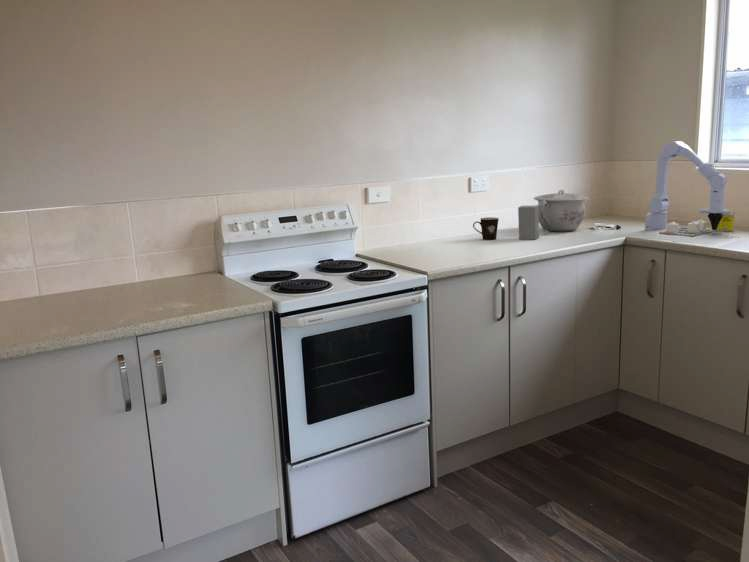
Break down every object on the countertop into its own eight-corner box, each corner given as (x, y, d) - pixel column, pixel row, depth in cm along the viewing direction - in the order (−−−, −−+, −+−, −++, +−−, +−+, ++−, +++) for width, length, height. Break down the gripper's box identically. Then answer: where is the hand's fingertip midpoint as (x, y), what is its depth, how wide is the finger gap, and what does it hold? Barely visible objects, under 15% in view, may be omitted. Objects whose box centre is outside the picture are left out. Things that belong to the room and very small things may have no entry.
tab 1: (666, 233, 311) (666, 222, 310) (670, 232, 314) (670, 221, 313) (674, 234, 308) (675, 222, 307) (678, 233, 311) (679, 222, 310)
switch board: (658, 236, 311) (659, 232, 311) (682, 231, 326) (683, 226, 326) (693, 240, 299) (693, 235, 299) (716, 233, 314) (716, 229, 314)
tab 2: (693, 231, 315) (694, 220, 314) (697, 230, 317) (698, 219, 316) (702, 231, 312) (703, 220, 311) (706, 230, 314) (707, 220, 313)
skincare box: (539, 238, 318) (539, 205, 315) (534, 240, 312) (535, 206, 309) (521, 237, 322) (522, 204, 319) (517, 239, 316) (517, 206, 313)
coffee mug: (499, 237, 322) (499, 217, 320) (496, 240, 314) (497, 219, 312) (475, 237, 326) (475, 217, 324) (472, 240, 318) (472, 219, 316)
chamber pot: (577, 225, 357) (578, 186, 352) (595, 232, 330) (597, 190, 325) (525, 227, 356) (526, 188, 352) (539, 234, 329) (540, 192, 325)
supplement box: (732, 233, 313) (734, 210, 311) (719, 234, 314) (721, 211, 311) (726, 232, 319) (728, 209, 317) (713, 232, 319) (715, 209, 317)
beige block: (687, 232, 311) (687, 221, 309) (691, 231, 313) (691, 220, 312) (695, 233, 308) (696, 222, 306) (699, 232, 310) (700, 221, 309)
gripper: (696, 200, 310) (694, 229, 312) (729, 202, 299) (726, 231, 302) (703, 199, 314) (701, 227, 317) (736, 200, 303) (733, 230, 306)
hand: (714, 229), depth 310 cm, fingers closed
